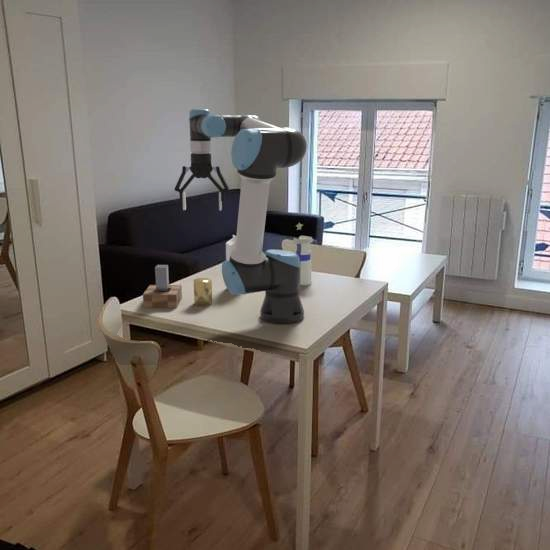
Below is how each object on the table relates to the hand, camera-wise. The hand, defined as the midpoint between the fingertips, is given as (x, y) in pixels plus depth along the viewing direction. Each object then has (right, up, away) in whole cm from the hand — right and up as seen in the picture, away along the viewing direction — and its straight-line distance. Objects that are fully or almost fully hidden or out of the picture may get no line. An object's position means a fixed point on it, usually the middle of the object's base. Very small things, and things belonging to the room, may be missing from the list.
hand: (202, 209), depth 214 cm
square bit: (-14, -35, -4) cm, 38 cm away
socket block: (-14, -35, -4) cm, 38 cm away
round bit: (+1, -35, -5) cm, 36 cm away
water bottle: (+39, -28, +23) cm, 53 cm away
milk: (+12, -31, +13) cm, 35 cm away
